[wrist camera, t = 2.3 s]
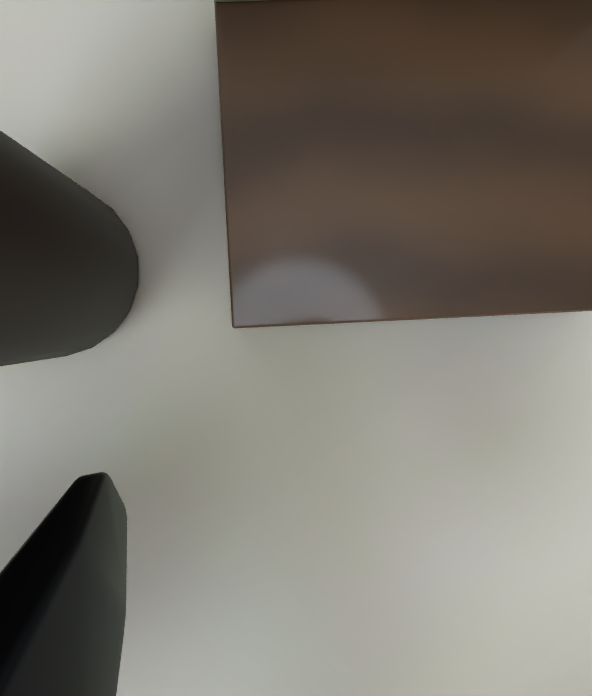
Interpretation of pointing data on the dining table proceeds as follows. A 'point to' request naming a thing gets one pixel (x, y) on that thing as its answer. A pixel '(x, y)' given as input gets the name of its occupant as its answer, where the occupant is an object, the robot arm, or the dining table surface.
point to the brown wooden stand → (405, 158)
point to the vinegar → (57, 262)
